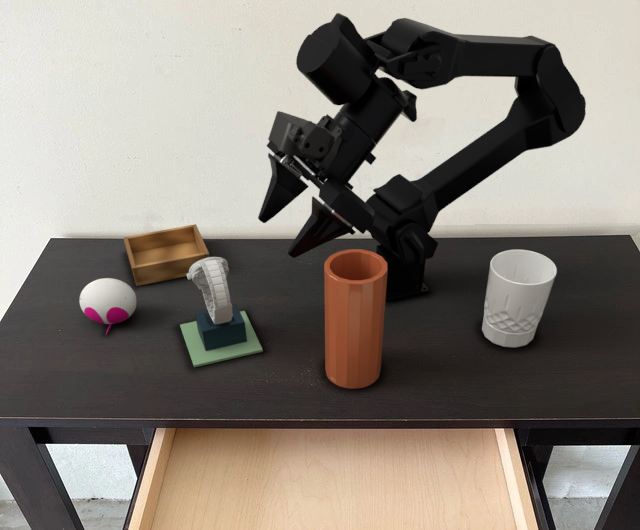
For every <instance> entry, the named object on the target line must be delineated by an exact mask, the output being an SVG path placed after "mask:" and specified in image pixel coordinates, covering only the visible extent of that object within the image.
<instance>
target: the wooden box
mask: <svg viewBox="0 0 640 530" xmlns="http://www.w3.org/2000/svg"><path fill="white" fill-rule="evenodd" d="M123 242H124V246H125V249H126V250H125V251H126V253H127V258H128V261H129V265H130V268H131V272H132V275H133V279H134V282H135V285H136V287H140V286H145V285H148V284H153V283H154V284H155V283H158V282H164V281H169V280H173V279H180V278H184V277H187V274H188V273H189V269H190V268H191V266H192V265H193V264H194V263H196V262H197V261H199V260H202V259H205V258H209V257H211V256H210V252H209V250H208V248H207V246H206V243H205V241H204V239H203V237H202V234H201V232H200V230H199V228H198V225H197V224H190V225H184V226H183V225H182V226H178V227H172V228H167V229H162V230H157V231H151V232H145V233H140V234H134V235H129V236H128V235H127V236H124V237H123Z"/></svg>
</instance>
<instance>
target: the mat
mask: <svg viewBox="0 0 640 530" xmlns="http://www.w3.org/2000/svg"><path fill="white" fill-rule="evenodd" d="M240 313H241V315H242V317H243V319H244V321H245V328H246V336H247V342H243V343H239V344H234V345H230V346H226V347H221V348H217V349H213V350H209V351H205V348H204V346H203V343H202V340H201V338H200V335H199V333H198V328H197V322H196V320H193V321H190V322H186V323H180V324H179V327H180V329H181V333H182V337H183V339H184V341H185V344H186V348H187V350H188V354H189V356H190V359H191V362H192V365H193V367H194V368H198V367H202V366H206V365H211V364H216V363H220V362H224V361H229V360H232V359H237V358H241V357H245V356H246V357H247V356H250V355H254V354H258V353H263V352H264V350H263V346H262V345H261V343H260V340H259V338H258V336H257V334H256V332H255V330H254V328H253V325H252V324H251V321H250V320H249V317H248V315H247V313H246V311H245V310H242V311H241V310H240Z"/></svg>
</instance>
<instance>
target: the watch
mask: <svg viewBox="0 0 640 530" xmlns="http://www.w3.org/2000/svg"><path fill="white" fill-rule="evenodd" d="M229 274H230V269H229V264H228V261H227V259H225V258H224V257H221V256H210V257H209V258H205V259H202V260H199V261H197V262H196V263H194V264H193V265H192V266H191V268H190V269H189V273H188V274H187V276H186V277H187V280H188V281H189V280H191V281H192V282H193V283H194V284H195V285H196V287H197V289H199V290H201V291H202V296H203V299H204V302H205V307H206V309H205V310H201V311H195V312H194V317H195V321H196V322H197V328H198V333H199V335H200V338H201V340H202V343H203V346H204V348H205V351H209V350H213V349H217V348H221V347H226V346H230V345H234V344H239V343H243V342H247V336H246V328H245V321H244V319H243V317H242V315H241V313H240V312H241V310H240V309H239V307H238V305H237V303H232V302H231V295H230V291H229V286H228V281H227V277H228V276H229Z"/></svg>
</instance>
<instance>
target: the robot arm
mask: <svg viewBox="0 0 640 530" xmlns="http://www.w3.org/2000/svg"><path fill="white" fill-rule="evenodd" d="M295 65H296V68H297V70H298V72H300V73H301V74H302V75H303V76H304V77H305V79H306V80H308V82H309V83H311V84H312V85H313V86H314V87H315V88H316V89H317V90H318V91H319V92H320V93H321V94H322V95H323V96H324V97H325V98H326V99H327V100H328V101H329V102H330V103H331V104H333V105H334V106H341V107H340V108H339V110H338V111H337V113H336V114H335V116H334V117H332V116H330V115H329V114H328V113H327V114H326V115H323V116H322V117H321V118H320V119H319V121H318V122H316V123H315V122H313V121H311V120H307V119H305V118H302V117H299V116H296V115H293V114H290V113H286V112H284V111H281V110H277V112H276V114H275V117H274V120H273V123H272V127H271V129H270V133H269V136H268V138H267V140H268V142H267V144H266V147H267V148H268V149H269V150H270V151H271V152H272V153H273V154H272V153H270V152H268V153H267V158H268V159H269V163H270V169H271V177H270V180H269V183H268V187H267V190H266V192H265V195H264V199H263V202H262V205H261V208H260V210H259V213H258V217H257V219H258V220H259V222H261V223H263V224H266V223H268V222H269V221H270V220H272V219H273V218H274V217H276V216H277V215H278V214H279V213H280V212H282V210H283V209H285V208H286V207H287V206H288V205H289V204H290V203H292V202H293V201H294V200H296V198H297V197H299V196H300V195H301V194H302V193H303V192H305V191H306V190H307V189H308V188H309V187H310V186H309V185H308V184H307V183H306V182H305V181H304V180H303V179H302V178H301V177H303V178H304V179H305V180H306V181H307V182H309V181H310V182H311V183H312V184H313V186H315V187H316V188H317V189H319V190H318V198H319V199H320V200H322V202H323V203H322V202H321V201H320V200H319V199H317V198H316V197H315V196H314V195H312V196H311V213H310V215H309V217H308V218H307V220H306V222H305V223H304V224H303V226H302V228H301V229H300V230H299V232H298V234H297V235H296V236H295V238H294V239H293V241H292V243H291V245H290V246H289V248H288V250H287V252H286V253H287V255H288V256H289V257H291V258H293V259H295V258H297V257H299V256H301V255H303V254H305V253H308V252H311V250H313V249H316V248H317V247H319V246H321V245H323V244H326V243H328V242H331V241H333V240H335V239H338V238H340V237H344V236H346V235H348V234H350V235H351V236H354V235H355V234H356V230H357V231H358V232H360V233H361V234H362V235H364V234H365V233H366V232H368V233H369V234H370V236H371V238H372V239H373V240H375V241H376V242H378V244H377V245H376V249H375V250H376V252H375V253H376V254H378V255H380V256H382V257H383V258H384V260H385V261H386V262H387V284H386V298H385V302H393V301H397V300H401V299H406V298H410V297H414V296H418V295H423V294H427V293H428V292H429V288H428V287H427V286H426V284H425V283H424V277H425V270H426V269H425V268H426V260H429V259H431V258H433V257H434V255H435V253H436V250H437V248H438V245H439V242H438V241H437V240H436V239H435V238H434V237H433V236H431V235H430V234H429V233H430V232H431V230H432V229H433V226H434V224H435V221H436V220H437V217H438V215H439V213H440V212H441V211H443V210H444V209H445V208H446V207H448V206H449V205H451V204H452V203H453V202H455V201H457V200H458V199H459V198H461V197H462V196H464V195H465V194H466V193H468V192H469V191H470V190H472V189H473V188H475V187H477V186H478V185H479V184H481V183H482V182H484V181H485V180H486V179H488V178H489V177H490V176H492V175H493V174H495V173H496V172H498V171H499V170H501V169H502V168H503V167H505V166H506V165H508V164H509V163H511V162H512V161H513V160H514V159H516V158H517V157H519V156H521V155H522V154H524V153H525V152H527V151H534V150H539V149H545V148H551V147H552V146H554V145H557V144H559V143H560V142H563V141H564V140H567V139H568V138H570V137H572V136H573V135H574V134H575V133H576V132H577V131H579V129H580V128H581V126H582V125H583V122H584V120H585V118H586V114H587V113H586V105H587V102H586V97H584V95H583V93H581V89H580V86H579V84H578V83H577V81H576V80H575V78H574V77H573V76H572V74H571V72H570V71H569V70H568V68H567V67H566V64H565V63H564V60H563V57H562V53H561V51H560V49H559V48H558V46H557V45H556V44H555V43H552V42H550V41H547V40H545V39H542V38H540V37H537V36H534V35H532V34H531V35H528V36H527V35H526V36H503V35H502V36H501V35H482V34H460V33H452V32H449V31H446V30H444V29H440V28H438V27H436V26H433V25H429V24H427V23H423V22H421V21H417V20H415V19H411V18H407V17H402V18H397V19H395V20H393V21H392V22H391V24H390V26H388V28H387V29H386V30H383V31H381V32H378V33H376V34H373V35H370V36H367V37H365V38H364V37H362V35H361V34H360V33H359V31H358V30H357V28H356V26H355V24H354V23H353V22H352V20H351V19H350V18H349V17H348V16H346V15H344V14H342V13H340V12H337V13H335V15H334V16H333V18H332V19H331V20H330V21H329V22H326V23H323V24H321V25H319V27H317V28H316V29H315V30H314V31H312V32H311V33H309V34H307V35H306V37H305V38H304V40H303V41H302V43H301V45H300V47H299V49H298V51H297V55H296V61H295ZM378 70H379V71H381V72H383V73H385V74H386V75H388V76H390V77H391V78H390V77H388V76H380V77H379V75H377V74H376V73H377V71H378ZM463 77H481V78H485V77H489V78H491V77H493V78H495V77H496V78H514V83H513V84H514V85H513V87H514V88H513V89H514V91H515V94H516V96H517V97H515V99H514V100H513V101H512V103H511V106H510V108H509V110H508V113H507V114H506V116H505V118H503V120H502V121H500V122H499V123H497V124H496V125H494V126H493V127H492V128H490V129H489V130H488V131H486V132H484V133H483V134H482V135H480V136H479V137H478V138H475V140H473V141H471V142H470V143H469V144H467V145H466V146H465V147H463V148H462V149H460V150H458V151H457V152H456V153H455V154H453V155H452V156H451V157H449V158H448V159H446V160H445V161H443V162H442V163H440V164H439V165H438V166H436V167H435V168H433V169H431V170H430V171H429V172H427V173H426V174H424V175H423V176H421V177H419V178H418V179H416V180H409V179H408V178H407V177H405V176H403V175H402V174H401V173H397V174H396V175H393V176H392V177H391V178H390V179H389V180H388V181H387V182H385V183H384V184H383V185H381V186H379V187H375V188H373V190H372V191H373V194H372V195H371V196H370V197H368V198H367V199H366V201H364V200H363V198H361V197H360V196H359V195H357V194H356V192H354V191H353V188H354V186H353V185H352V183H350V181H351V179H353V177H354V175H356V173H357V172H358V170H359V169H360V168H361V167H362V165H363V164H364V163H365V162H366V163H368V164H369V165H370V166H372V165H373V163H374V162H375V161H376V160H377V157H376V156H375V155H374V154H373V153H372V152H373V151H374V149H375V148H376V147H377V145H379V143H380V142H381V140H382V139H383V138H384V137H385V135H386V134H388V131H389V130H390V129H391V127H392V126H393V125H394V124H395V122H396V121H397V120H398V118H399V117H400V116H401V115H402V116H403V117H404V118H405V119H407V120H408V121H410V122H412V123H415V122H416V121H417V120H418V111H417V100H418V96H417V95H416V94H414V93H413V92H411V91H410V90H408V89H405V90H402V89H401V87H399V86H398V84H397V83H396V82H395V81H394V80H393V79H392V78H394V79H395V80H397V81H401V82H403V83H405V84H407V85H409V86H411V87H412V88H414V89H417V90H428V89H432V88H437V87H442V86H445V85H448V84H449V83H451V82H452V81H454V80H455V79H458V78H463ZM354 229H356V230H354Z"/></svg>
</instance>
